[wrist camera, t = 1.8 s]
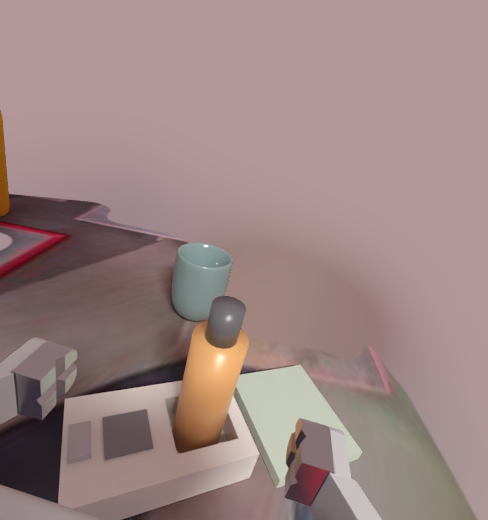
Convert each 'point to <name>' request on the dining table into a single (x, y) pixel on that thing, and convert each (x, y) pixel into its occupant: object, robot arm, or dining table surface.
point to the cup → (199, 279)
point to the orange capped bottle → (210, 375)
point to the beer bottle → (3, 175)
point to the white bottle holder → (142, 453)
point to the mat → (283, 413)
